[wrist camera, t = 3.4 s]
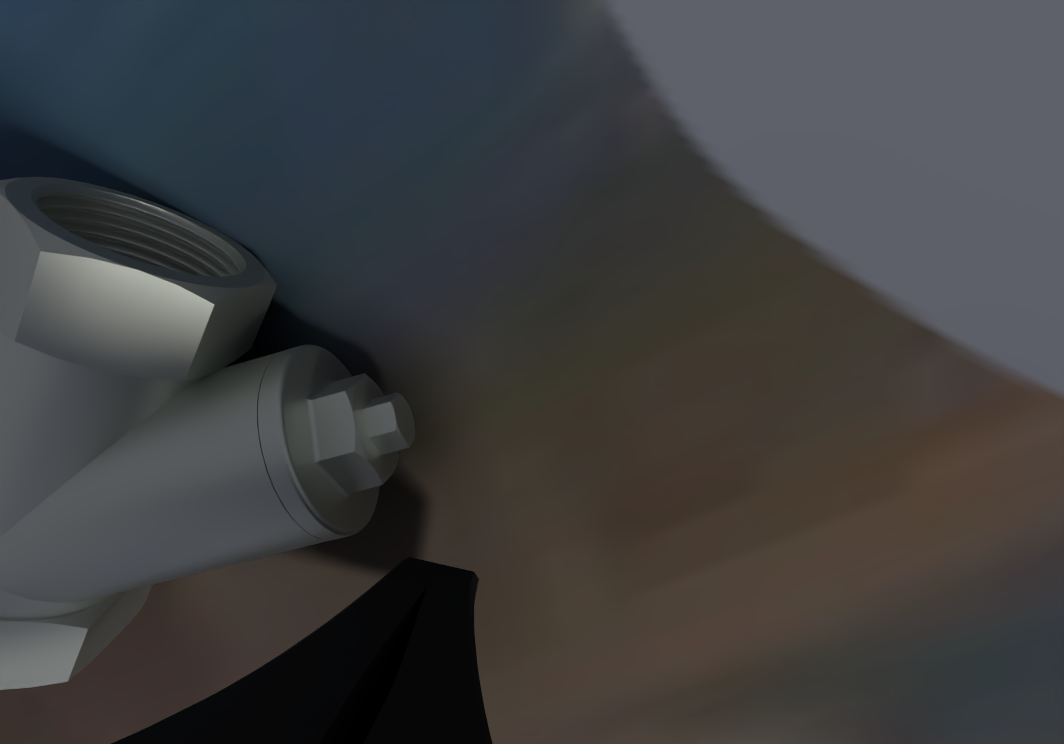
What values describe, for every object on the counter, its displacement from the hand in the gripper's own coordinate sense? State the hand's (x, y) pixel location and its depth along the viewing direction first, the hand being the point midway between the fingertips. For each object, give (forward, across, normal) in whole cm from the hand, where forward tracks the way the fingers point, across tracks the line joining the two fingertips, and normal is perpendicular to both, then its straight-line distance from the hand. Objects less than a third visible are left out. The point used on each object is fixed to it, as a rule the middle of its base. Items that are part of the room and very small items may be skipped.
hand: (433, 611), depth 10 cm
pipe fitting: (+2, +5, -2) cm, 5 cm away
